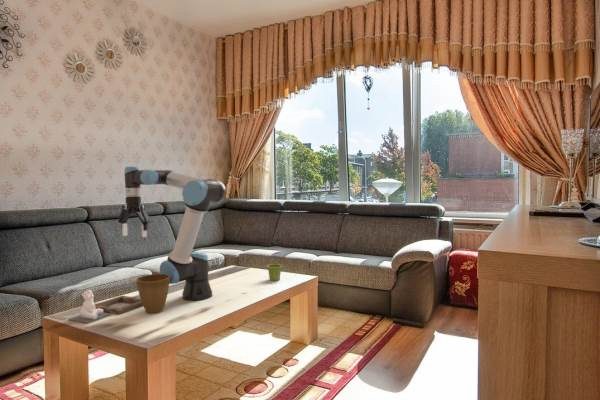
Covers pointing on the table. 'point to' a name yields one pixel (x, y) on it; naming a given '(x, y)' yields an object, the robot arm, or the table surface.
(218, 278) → the table surface
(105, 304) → the pocket frame
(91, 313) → the white creature statuette
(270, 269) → the plant pot
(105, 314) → the slate mat
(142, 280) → the plant pot
